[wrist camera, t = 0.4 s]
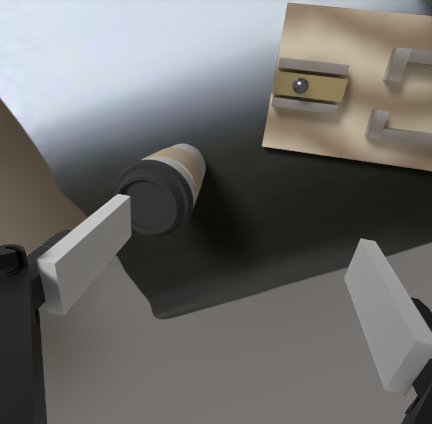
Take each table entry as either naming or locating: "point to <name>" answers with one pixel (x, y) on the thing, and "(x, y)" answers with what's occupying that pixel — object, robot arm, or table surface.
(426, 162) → the dock
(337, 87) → the bar
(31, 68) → the table surface
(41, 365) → the robot arm
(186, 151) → the coffee cup
